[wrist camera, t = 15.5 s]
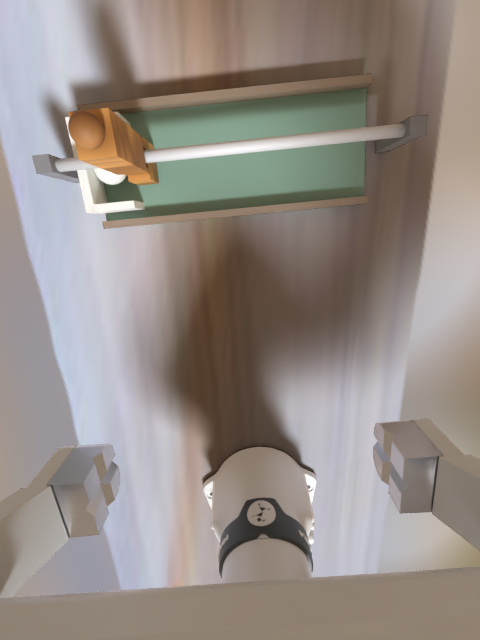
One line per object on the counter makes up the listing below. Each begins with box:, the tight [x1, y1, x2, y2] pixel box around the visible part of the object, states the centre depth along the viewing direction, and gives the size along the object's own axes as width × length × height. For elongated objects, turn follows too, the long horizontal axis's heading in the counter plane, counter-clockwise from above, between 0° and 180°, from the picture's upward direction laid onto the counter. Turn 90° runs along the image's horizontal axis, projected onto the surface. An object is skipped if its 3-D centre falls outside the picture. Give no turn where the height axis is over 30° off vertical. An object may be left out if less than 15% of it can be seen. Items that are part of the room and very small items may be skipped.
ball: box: [94, 168, 126, 185], centre depth 36 cm, size 4×4×4 cm
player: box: [68, 108, 159, 185], centre depth 29 cm, size 4×3×16 cm
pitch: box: [32, 74, 428, 229], centre depth 34 cm, size 13×38×8 cm, turn 95°
